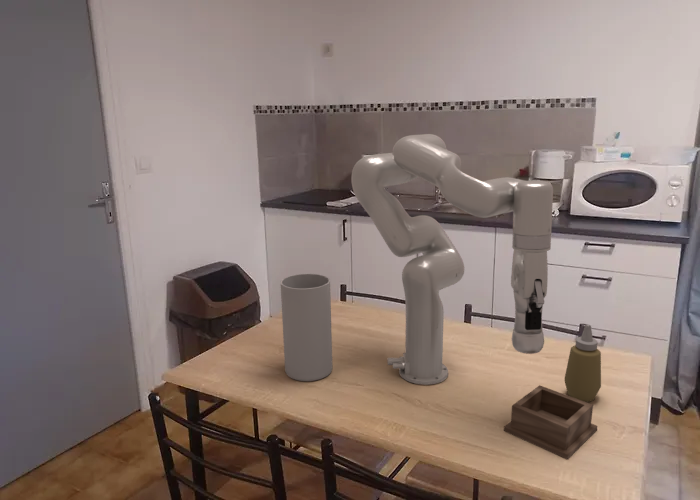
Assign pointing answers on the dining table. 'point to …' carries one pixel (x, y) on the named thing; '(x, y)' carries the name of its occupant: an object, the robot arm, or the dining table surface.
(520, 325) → the plastic bottle
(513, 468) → the dining table surface
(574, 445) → the bottle caddy
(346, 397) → the dining table surface
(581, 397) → the squeeze bottle
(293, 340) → the cylinder vase
